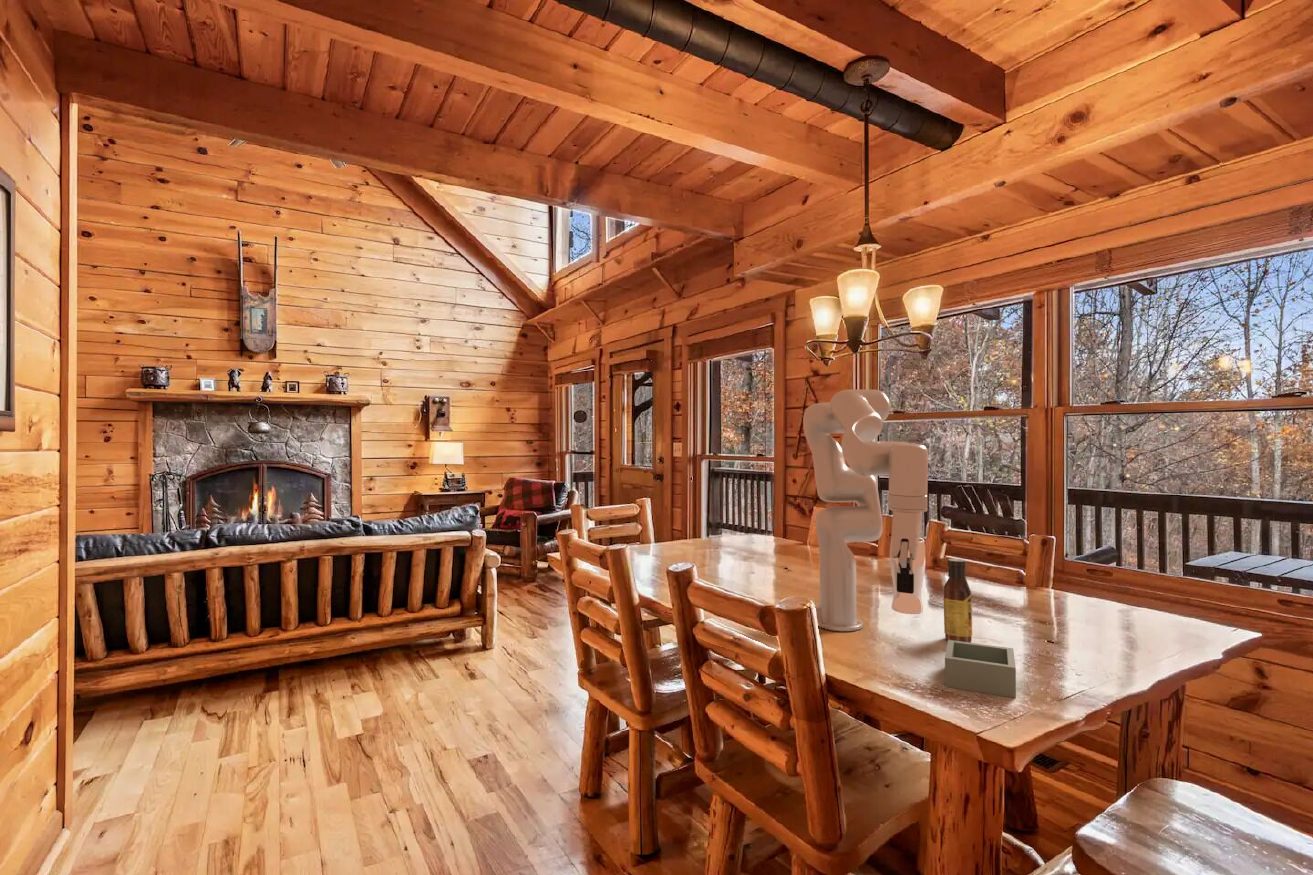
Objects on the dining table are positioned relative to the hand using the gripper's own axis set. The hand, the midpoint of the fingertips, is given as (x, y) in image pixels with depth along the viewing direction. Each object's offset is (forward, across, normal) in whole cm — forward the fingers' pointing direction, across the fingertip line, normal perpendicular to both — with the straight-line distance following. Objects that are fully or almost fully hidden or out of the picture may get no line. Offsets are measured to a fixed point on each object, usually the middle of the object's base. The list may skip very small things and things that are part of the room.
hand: (907, 587), depth 131 cm
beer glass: (+5, 0, 0) cm, 5 cm away
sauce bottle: (+20, -30, +9) cm, 37 cm away
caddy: (+19, -4, +14) cm, 24 cm away
